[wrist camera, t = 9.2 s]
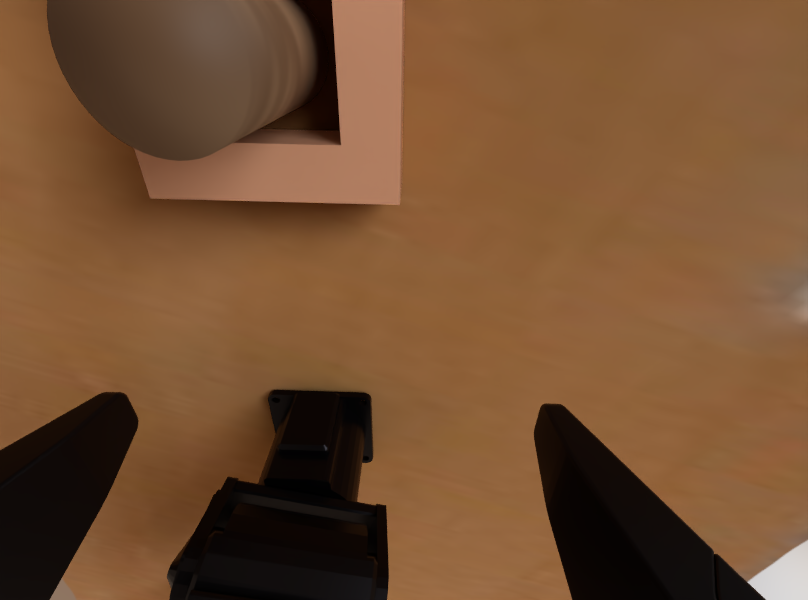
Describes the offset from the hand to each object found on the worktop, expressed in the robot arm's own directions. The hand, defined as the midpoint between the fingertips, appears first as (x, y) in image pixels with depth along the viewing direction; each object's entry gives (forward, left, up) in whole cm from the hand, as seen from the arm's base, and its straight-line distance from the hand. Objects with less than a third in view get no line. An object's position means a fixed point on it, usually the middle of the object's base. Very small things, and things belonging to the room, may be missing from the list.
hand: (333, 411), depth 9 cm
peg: (+6, +4, -13) cm, 15 cm away
